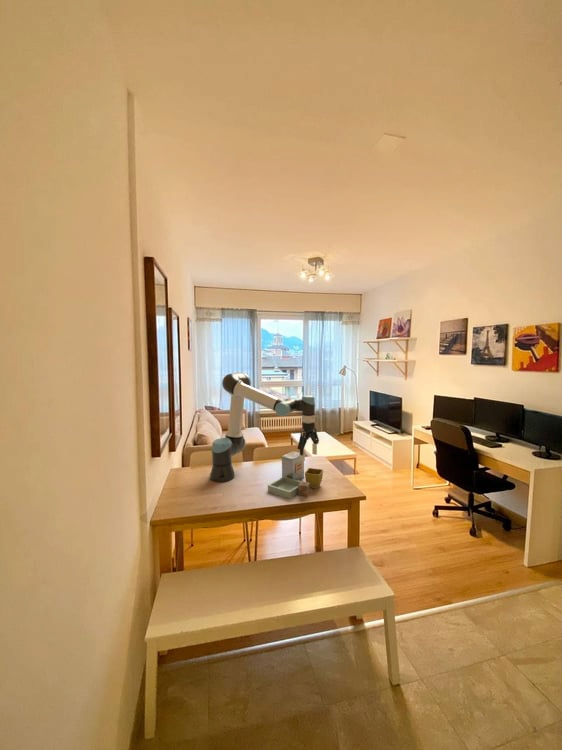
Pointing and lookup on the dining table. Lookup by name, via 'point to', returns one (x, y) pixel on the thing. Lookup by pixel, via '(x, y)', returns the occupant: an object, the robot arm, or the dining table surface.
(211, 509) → the dining table surface
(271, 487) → the tray
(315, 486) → the flower pot
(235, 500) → the dining table surface
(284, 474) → the box
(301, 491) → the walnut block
